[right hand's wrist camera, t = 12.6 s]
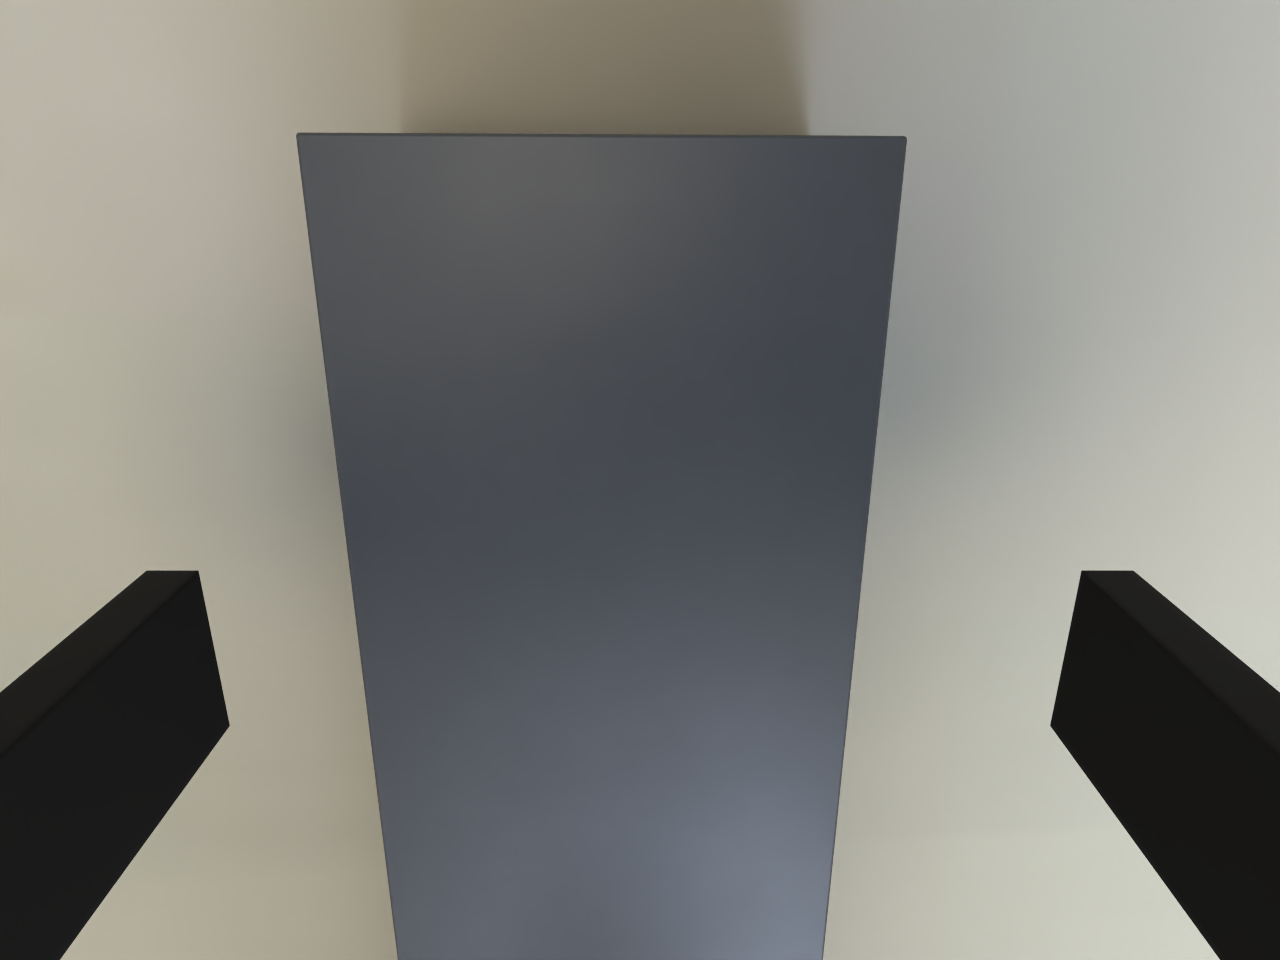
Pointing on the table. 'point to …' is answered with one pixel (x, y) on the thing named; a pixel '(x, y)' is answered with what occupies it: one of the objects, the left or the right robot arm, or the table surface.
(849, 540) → the wide beam
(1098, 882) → the table surface
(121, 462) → the table surface
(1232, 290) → the table surface
